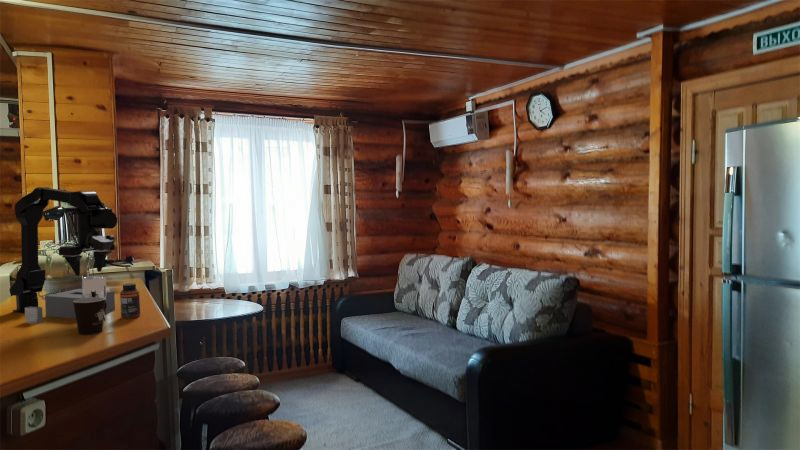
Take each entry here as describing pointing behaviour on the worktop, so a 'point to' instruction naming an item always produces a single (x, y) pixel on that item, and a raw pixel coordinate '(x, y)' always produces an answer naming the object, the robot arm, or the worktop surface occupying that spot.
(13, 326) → the worktop surface
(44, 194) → the robot arm
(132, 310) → the supplement bottle
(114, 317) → the worktop surface
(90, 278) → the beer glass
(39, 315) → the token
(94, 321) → the coffee mug
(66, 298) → the coin box
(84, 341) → the worktop surface
